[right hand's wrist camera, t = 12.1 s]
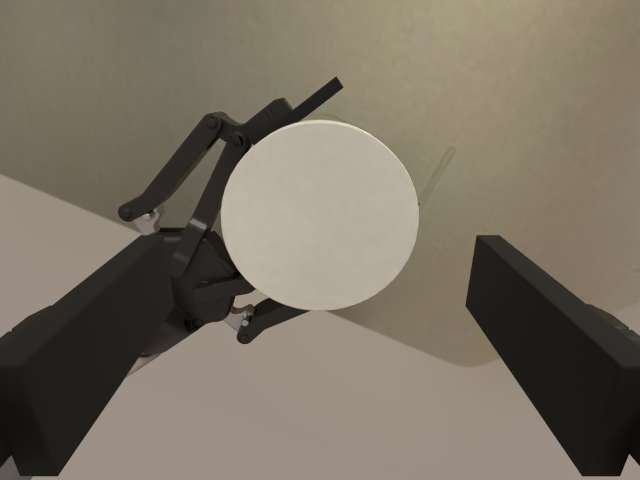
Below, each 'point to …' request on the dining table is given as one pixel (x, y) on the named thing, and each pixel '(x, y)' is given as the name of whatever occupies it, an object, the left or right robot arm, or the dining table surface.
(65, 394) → the right robot arm
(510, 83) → the dining table surface
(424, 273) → the dining table surface
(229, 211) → the lid
